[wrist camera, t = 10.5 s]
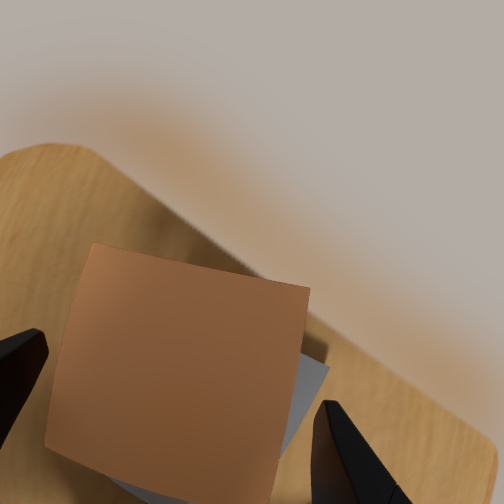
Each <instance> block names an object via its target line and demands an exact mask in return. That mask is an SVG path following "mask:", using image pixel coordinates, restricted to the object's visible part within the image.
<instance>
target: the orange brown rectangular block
mask: <svg viewBox="0 0 504 504" xmlns="http://www.w3.org/2000/svg"><path fill="white" fill-rule="evenodd" d="M309 294H310V288H308V287H302V286H297V285H292V284H287V283H281V282H277V281H272V280H266V279H261V278H256V277H251V276H246V275H241V274H236V273H231V272H226V271H221V270H217V269H212V268H207V267H202V266H197V265H193V264H188V263H183V262H178V261H174V260H169V259H164V258H160V257H155V256H151V255H146V254H141V253H137V252H132V251H128V250H123V249H119V248H115V247H110V246H106V245H101V244H97V243H93V244H92V247H91V250H90V252H89V255H88V258H87V261H86V264H85V266H84V269H83V272H82V275H81V278H80V281H79V284H78V287H77V291H76V294H75V297H74V300H73V304H72V307H71V310H70V314H69V317H68V321H67V325H66V328H65V332H64V336H63V340H62V344H61V348H60V352H59V357H58V361H57V366H56V370H55V375H54V380H53V385H52V391H51V396H50V402H49V408H48V415H47V422H46V429H45V437H44V446H46V447H47V448H49V449H51V450H53V451H55V452H57V453H59V454H61V455H63V456H65V457H67V458H69V459H71V460H73V461H75V462H77V463H79V464H81V465H83V466H86V467H88V468H90V469H92V470H95V471H97V472H99V473H102V474H104V475H107V476H109V477H112V478H114V479H117V480H120V481H122V482H125V483H128V484H131V485H133V486H136V487H139V488H142V489H145V490H149V491H152V492H155V493H158V494H162V495H165V496H169V497H172V498H176V499H180V500H184V501H188V502H192V503H197V504H269V500H270V496H271V492H272V488H273V484H274V480H275V475H276V471H277V467H278V463H279V458H280V454H281V450H282V445H283V440H284V436H285V431H286V426H287V422H288V417H289V412H290V407H291V402H292V396H293V391H294V386H295V380H296V375H297V369H298V364H299V358H300V352H301V346H302V340H303V334H304V327H305V321H306V314H307V308H308V301H309Z"/></svg>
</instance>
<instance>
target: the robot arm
mask: <svg viewBox="0 0 504 504" xmlns="http://www.w3.org/2000/svg"><path fill="white" fill-rule="evenodd" d="M48 355H49V349H48V345H47V342H46V338H45V334H44V333H43V332H42V331H40V330H38V329H35V328H32V329H29V330H27V331H24V332H21V333H19V334H16V335H13V336H11V337H8V338H6V339H3V340H0V449H1V447H2V445H3V443H4V441H5V439H6V437H7V435H8V433H9V431H10V429H11V427H12V426H13V424H14V422H15V420H16V418H17V416H18V414H19V413H20V411H21V409H22V407H23V406H24V404H25V402H26V400H27V399H28V397H29V395H30V393H31V391H32V389H33V387H34V385H35V383H36V381H37V379H38V377H39V374H40V372H41V370H42V368H43V366H44V364H45V362H46V360H47V358H48ZM396 484H397V483H396V481H395V480H394V479H393V477H392V476H391V474H390V473H389V472H388V470H387V469H386V468H385V466H384V465H383V464H382V462H381V461H380V459H379V458H378V457H377V455H376V454H375V453H374V451H373V450H372V448H371V447H370V446H369V444H368V443H367V442H366V440H365V439H364V437H363V436H362V435H361V433H360V432H359V430H358V429H357V428H356V426H355V425H354V424H353V422H352V421H351V419H350V418H349V417H348V415H347V414H346V412H345V411H344V410H343V408H342V407H341V405H340V404H339V403H338V402H337V401H335V400H323V401H322V403H321V405H320V407H319V409H318V411H317V413H316V415H315V418H314V424H313V438H312V452H311V492H312V504H413V503H412V502H411V501H410V500H409V498H408V497H407V496H406V495H405V493H404V492H403V491H402V489H401V488H400V487H399V485H396Z"/></svg>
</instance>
